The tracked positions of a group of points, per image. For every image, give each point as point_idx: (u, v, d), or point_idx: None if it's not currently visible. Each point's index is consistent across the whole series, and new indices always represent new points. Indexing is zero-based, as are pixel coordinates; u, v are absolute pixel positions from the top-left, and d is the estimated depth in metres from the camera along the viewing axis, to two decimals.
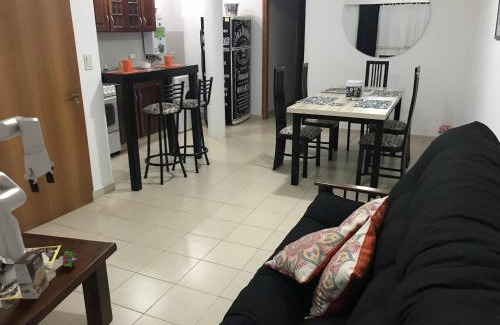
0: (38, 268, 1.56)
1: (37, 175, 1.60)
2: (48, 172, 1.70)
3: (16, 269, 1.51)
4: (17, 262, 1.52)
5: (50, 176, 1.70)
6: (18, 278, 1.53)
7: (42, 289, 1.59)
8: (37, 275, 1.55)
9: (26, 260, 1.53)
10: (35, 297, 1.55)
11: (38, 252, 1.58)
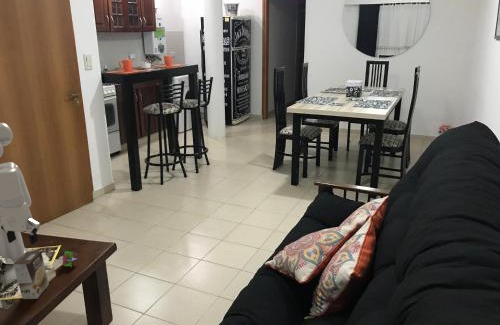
0: (38, 268, 1.56)
1: None
2: None
3: (16, 269, 1.51)
4: (17, 262, 1.52)
5: (13, 232, 1.52)
6: (18, 278, 1.53)
7: (42, 289, 1.59)
8: (37, 275, 1.55)
9: (26, 260, 1.53)
10: (35, 297, 1.55)
11: (38, 252, 1.58)
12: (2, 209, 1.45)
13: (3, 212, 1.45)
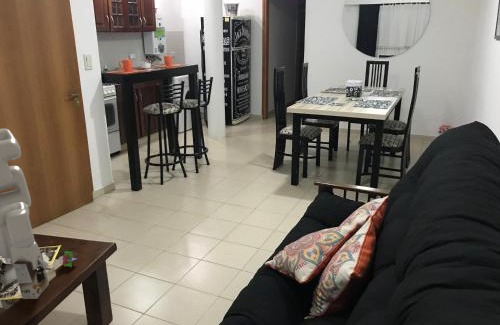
0: (38, 268, 1.56)
1: None
2: None
3: (16, 269, 1.51)
4: (17, 262, 1.52)
5: None
6: (18, 278, 1.53)
7: (42, 289, 1.59)
8: None
9: None
10: (35, 297, 1.55)
11: None
12: (13, 249, 1.51)
13: (14, 251, 1.51)
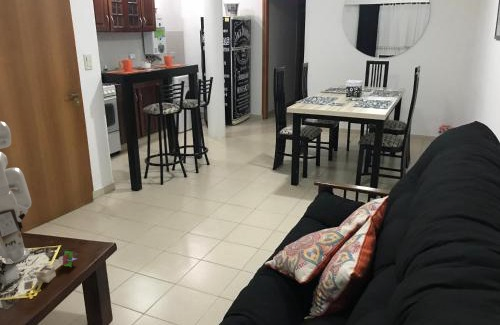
0: None
1: None
2: None
3: None
4: None
5: None
6: (2, 230, 1.46)
7: None
8: None
9: None
10: (21, 246, 1.52)
11: None
12: None
13: None
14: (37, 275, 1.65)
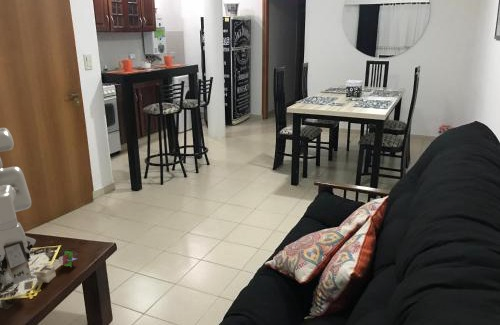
0: None
1: None
2: None
3: (8, 253, 1.50)
4: (7, 246, 1.50)
5: None
6: (10, 262, 1.51)
7: None
8: None
9: None
10: (29, 276, 1.57)
11: None
12: None
13: (0, 236, 1.48)
14: (37, 275, 1.65)
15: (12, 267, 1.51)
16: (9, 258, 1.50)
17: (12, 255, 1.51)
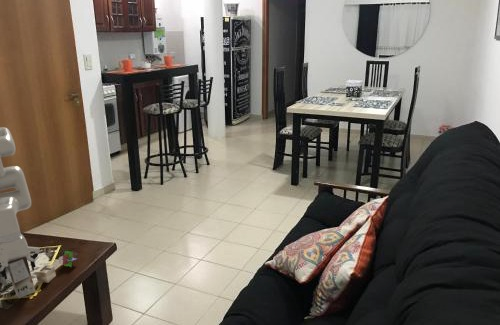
0: None
1: None
2: None
3: (12, 268, 1.52)
4: (11, 261, 1.52)
5: (4, 269, 1.56)
6: (14, 277, 1.53)
7: None
8: None
9: None
10: (33, 291, 1.59)
11: None
12: (2, 246, 1.50)
13: (4, 248, 1.50)
14: (37, 275, 1.65)
15: (16, 282, 1.54)
16: (13, 273, 1.53)
17: (16, 270, 1.53)
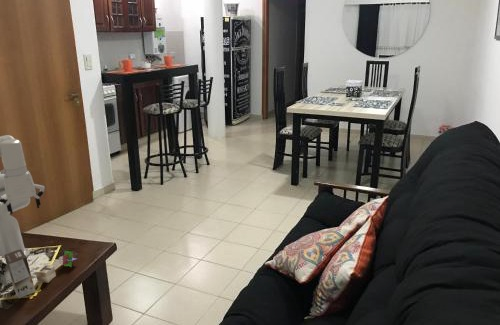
0: None
1: None
2: None
3: (12, 268, 1.52)
4: (11, 261, 1.52)
5: (10, 204, 1.60)
6: (14, 277, 1.53)
7: None
8: None
9: (17, 257, 1.55)
10: (33, 291, 1.59)
11: (19, 250, 1.60)
12: (9, 179, 1.54)
13: (10, 182, 1.54)
14: (37, 275, 1.65)
15: (16, 282, 1.54)
16: (13, 273, 1.53)
17: (16, 270, 1.53)
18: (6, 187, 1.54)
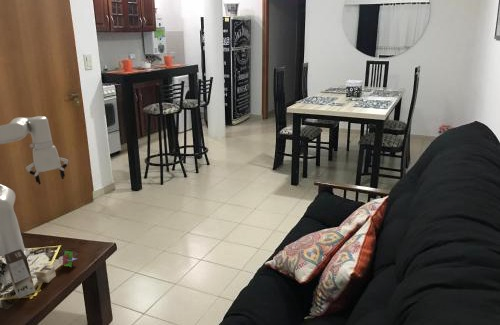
0: None
1: None
2: None
3: (12, 268, 1.52)
4: (11, 261, 1.52)
5: (38, 176, 1.77)
6: (14, 277, 1.53)
7: None
8: None
9: (17, 257, 1.55)
10: (33, 291, 1.59)
11: (19, 250, 1.60)
12: (37, 152, 1.72)
13: (39, 155, 1.72)
14: (37, 275, 1.65)
15: (16, 282, 1.54)
16: (13, 273, 1.53)
17: (16, 270, 1.53)
18: (35, 159, 1.72)
